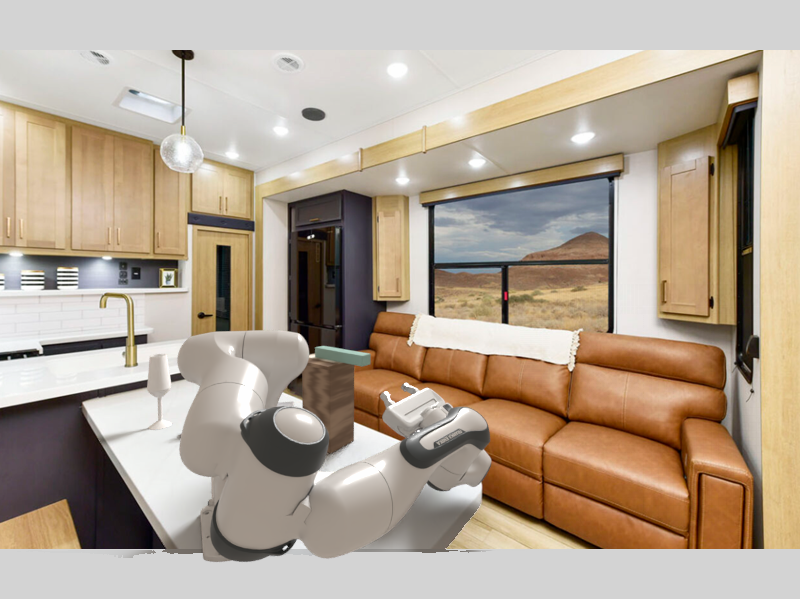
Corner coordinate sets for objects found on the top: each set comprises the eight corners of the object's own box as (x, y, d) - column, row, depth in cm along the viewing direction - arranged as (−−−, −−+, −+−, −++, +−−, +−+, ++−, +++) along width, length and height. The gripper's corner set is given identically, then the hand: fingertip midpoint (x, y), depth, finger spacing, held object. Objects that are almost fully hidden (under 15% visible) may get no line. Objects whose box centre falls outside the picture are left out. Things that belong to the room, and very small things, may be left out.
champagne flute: (151, 422, 119) (149, 353, 118) (174, 420, 122) (172, 352, 120) (145, 431, 113) (143, 358, 112) (169, 428, 116) (167, 356, 114)
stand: (360, 439, 109) (361, 356, 108) (327, 457, 98) (327, 366, 96) (326, 427, 118) (326, 350, 116) (293, 443, 106) (292, 358, 105)
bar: (370, 364, 99) (370, 353, 99) (362, 366, 96) (362, 355, 96) (323, 355, 110) (323, 345, 110) (315, 357, 107) (315, 347, 107)
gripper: (403, 451, 79) (363, 409, 85) (444, 421, 96) (408, 388, 102) (415, 431, 77) (373, 390, 83) (455, 404, 94) (418, 371, 100)
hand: (393, 389), depth 93 cm, fingers open, 8 cm apart
